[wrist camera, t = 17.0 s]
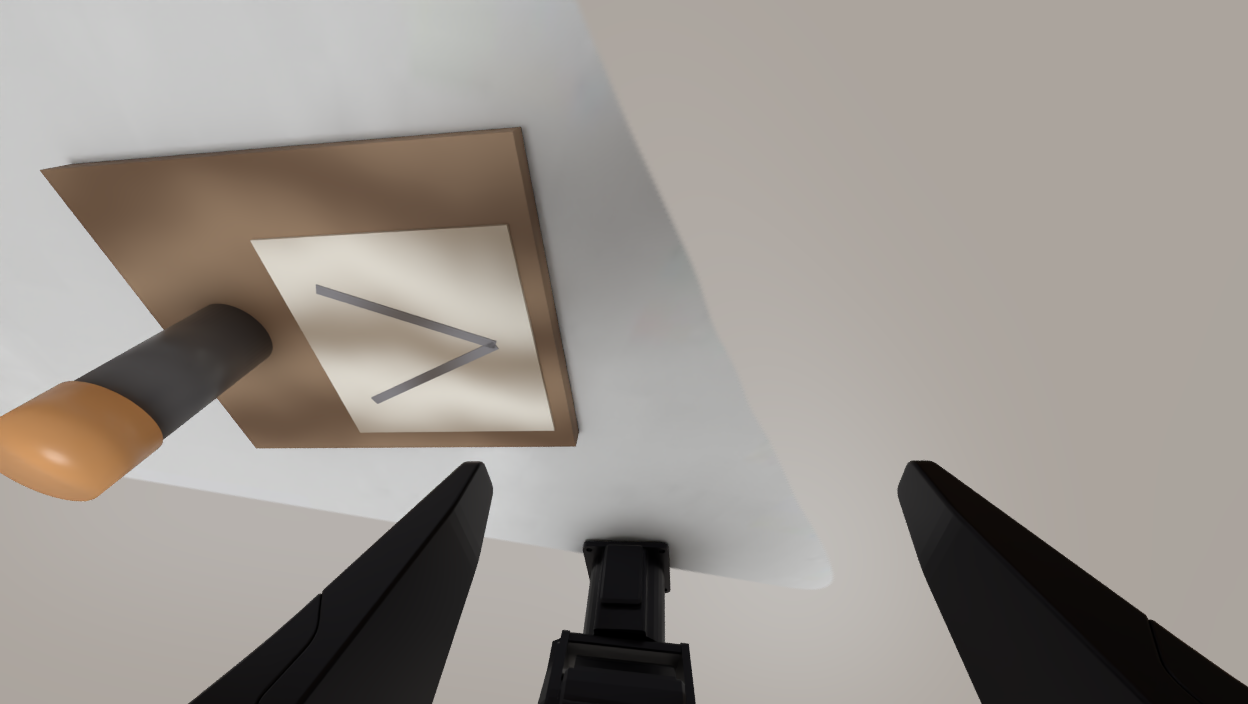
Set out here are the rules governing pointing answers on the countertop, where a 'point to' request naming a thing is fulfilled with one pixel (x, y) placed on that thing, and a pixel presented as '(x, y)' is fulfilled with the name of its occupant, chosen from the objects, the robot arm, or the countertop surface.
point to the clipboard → (353, 283)
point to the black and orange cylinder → (128, 404)
